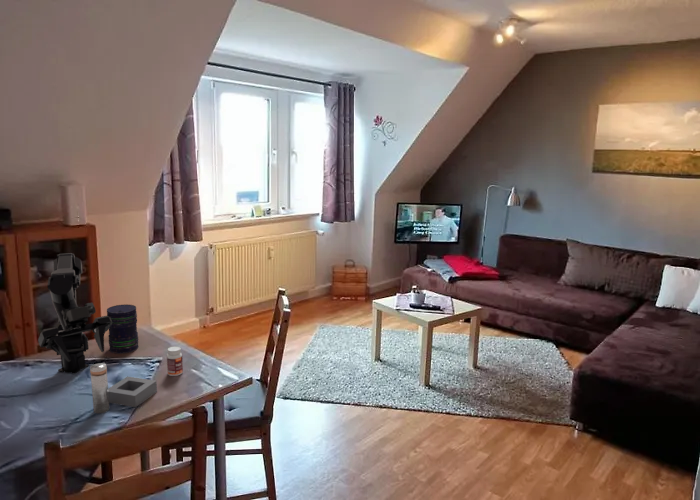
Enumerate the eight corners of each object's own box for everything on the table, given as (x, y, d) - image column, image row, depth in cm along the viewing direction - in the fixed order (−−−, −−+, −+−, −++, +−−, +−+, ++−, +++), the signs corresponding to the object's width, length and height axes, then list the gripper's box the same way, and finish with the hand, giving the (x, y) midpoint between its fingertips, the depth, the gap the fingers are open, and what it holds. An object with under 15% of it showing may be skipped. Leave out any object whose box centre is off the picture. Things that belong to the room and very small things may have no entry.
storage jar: (112, 344, 195) (109, 305, 192) (140, 342, 197) (138, 303, 194) (106, 354, 185) (103, 313, 182) (136, 352, 188) (134, 312, 185)
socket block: (105, 402, 152) (104, 390, 151) (128, 387, 162) (127, 376, 161) (135, 407, 150) (135, 395, 149) (156, 391, 159) (156, 380, 158)
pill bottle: (178, 377, 169) (177, 352, 168) (164, 375, 170) (163, 350, 169) (185, 370, 174) (184, 346, 172) (172, 369, 175) (171, 345, 173)
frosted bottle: (90, 412, 146) (86, 368, 144) (100, 405, 150) (97, 362, 148) (102, 414, 145) (99, 370, 143) (113, 407, 149) (109, 364, 147)
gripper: (38, 302, 143) (57, 351, 138) (107, 289, 157) (127, 333, 152) (30, 323, 150) (48, 371, 145) (97, 308, 164) (116, 352, 159)
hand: (86, 356), depth 150 cm, fingers open, 9 cm apart
